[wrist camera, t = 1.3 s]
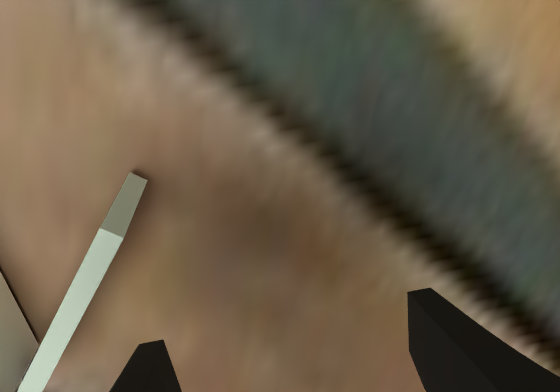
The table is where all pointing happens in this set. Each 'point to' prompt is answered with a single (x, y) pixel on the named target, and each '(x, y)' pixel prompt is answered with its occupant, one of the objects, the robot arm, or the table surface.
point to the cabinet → (13, 341)
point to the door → (84, 284)
